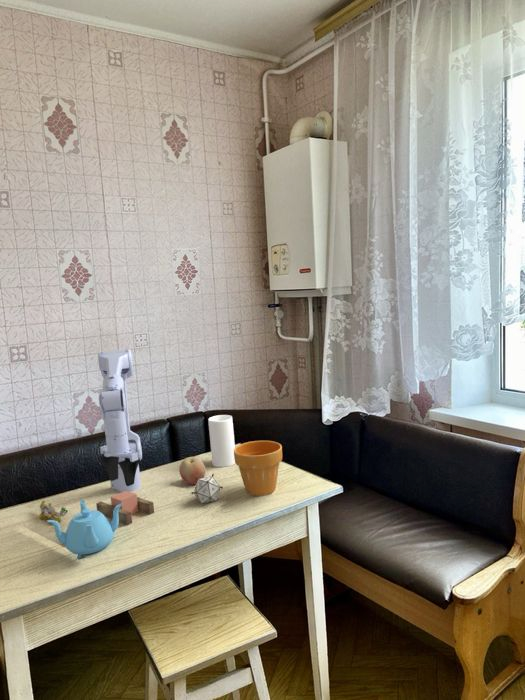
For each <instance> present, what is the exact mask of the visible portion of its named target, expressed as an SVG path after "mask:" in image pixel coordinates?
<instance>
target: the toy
mask: <svg viewBox="0 0 525 700" xmlns="http://www.w3.org/2000/svg"><path fill="white" fill-rule="evenodd" d="M52 505H53V504H52V503H50V502H49V503H48V504H46V501H45V500H42V501H41V503H40V505H39V509H40V514H39V516H38V517H39V520H44V519H45V520H46V519H48V520H55V521H57V522H58V523H59V524H60V523H61V521H62V519H61V516H62V515H66V514H67V513H68V512H69V511H68V510H67V507H65V506H62V507H61V509H60V511H59V512H57V511H56V510H55V507H53V506H52ZM50 525H51V526H53V524H52V523H50Z"/></svg>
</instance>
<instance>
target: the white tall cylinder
mask: <svg viewBox="0 0 525 700" xmlns="http://www.w3.org/2000/svg"><path fill="white" fill-rule="evenodd" d="M207 420H208V431H209V433H208V434H209V441H210V443H209V444H210V451H211V452H210V453H211V460H212V461H211V462H212V466H214V467H217V468H227V467H230V466H233V465H236V463H235V459H234V449H235V447H236V445H235V444H236V443H235V434H234V433H235V431H234V423H233V416H232V415H229V414H218V415H213V416H211V417H209V418H208V419H207Z"/></svg>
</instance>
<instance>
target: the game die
mask: <svg viewBox="0 0 525 700" xmlns="http://www.w3.org/2000/svg"><path fill="white" fill-rule="evenodd" d="M214 475H215V474H214V473H212V474H211V476H206V477H205V476H204V478H200V479H198V478H197V477H196V479H197V482H196V484H195V485H194V486H195V487H194V489H193V491H192V492H191V493H190V494H192V495H193V494H194V496H195V497H196V499H197V501H198V502H199V503H200V504H202V505H203V504H207V503H211V502H212V503H213V502H216V501H218V498H219V495H220V491H221V489H223V488H224V486H220V484H219V483H218V481H217V480H216V479H215V477H214Z"/></svg>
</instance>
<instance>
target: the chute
mask: <svg viewBox="0 0 525 700" xmlns="http://www.w3.org/2000/svg"><path fill="white" fill-rule="evenodd" d="M137 502H138V510H139V512H142V513H144V514H147V515H152V514H155V507H154V505H155V504H154V502H153V501H150V500H147V499H144V498H140V497H138V496H137ZM114 508H115V506H112V505H111V504H109V503H107V502H104V501H99V502H96V511H99V512H101V513H102V514H103V515H104V516H105V517H106V518H107V519H111V520H112V519H113V510H114ZM118 516H119V523H121V524H123V525H126V526H129V525H131V524H133V518H132V515H131V512H128V511H126V510H123V509H120V508H119V512H118Z"/></svg>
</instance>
